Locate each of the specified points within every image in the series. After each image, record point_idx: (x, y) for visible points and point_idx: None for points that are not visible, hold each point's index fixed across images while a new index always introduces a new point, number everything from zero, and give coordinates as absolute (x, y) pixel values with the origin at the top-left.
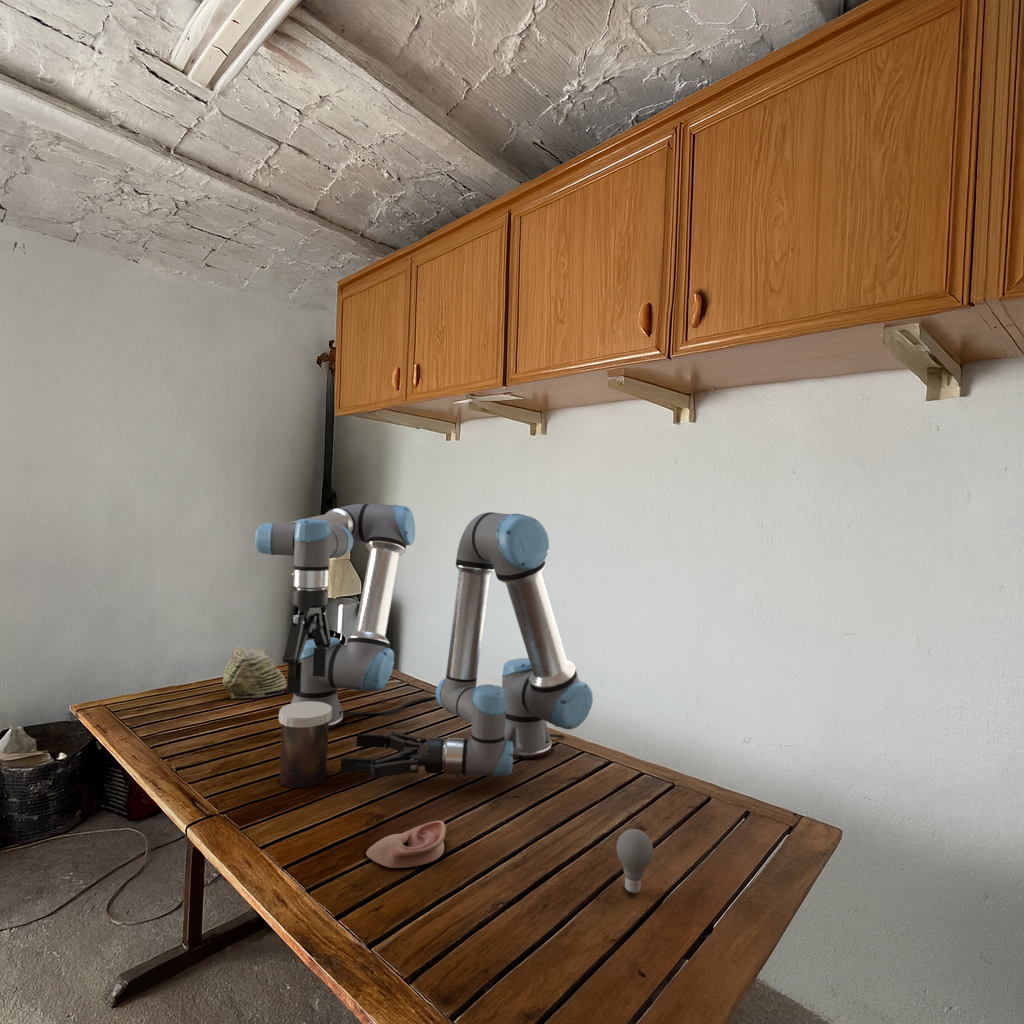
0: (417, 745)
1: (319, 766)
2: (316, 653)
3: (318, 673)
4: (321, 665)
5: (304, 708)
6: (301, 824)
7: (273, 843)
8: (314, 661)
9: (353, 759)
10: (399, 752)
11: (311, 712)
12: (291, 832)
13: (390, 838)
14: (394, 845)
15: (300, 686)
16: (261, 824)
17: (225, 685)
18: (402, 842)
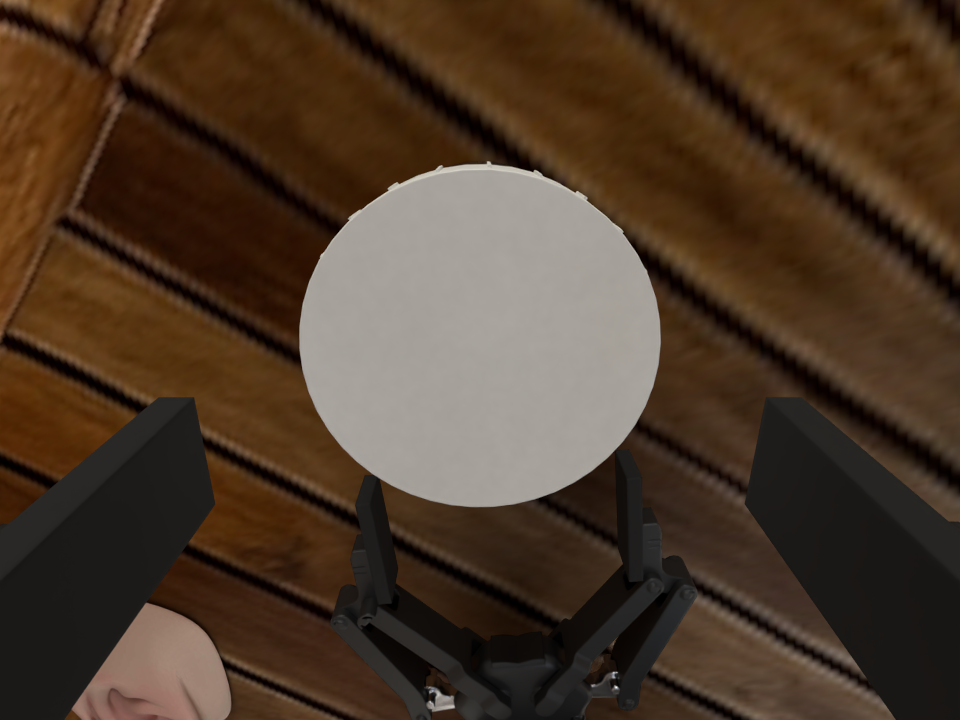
0: (536, 710)
1: None
2: (942, 620)
3: (769, 471)
4: (811, 559)
5: (494, 340)
6: (169, 391)
7: (41, 362)
8: (862, 506)
9: (365, 546)
10: (463, 671)
11: (428, 415)
12: (116, 383)
13: (135, 653)
14: None
15: (180, 541)
16: (117, 273)
17: None
18: (114, 688)
